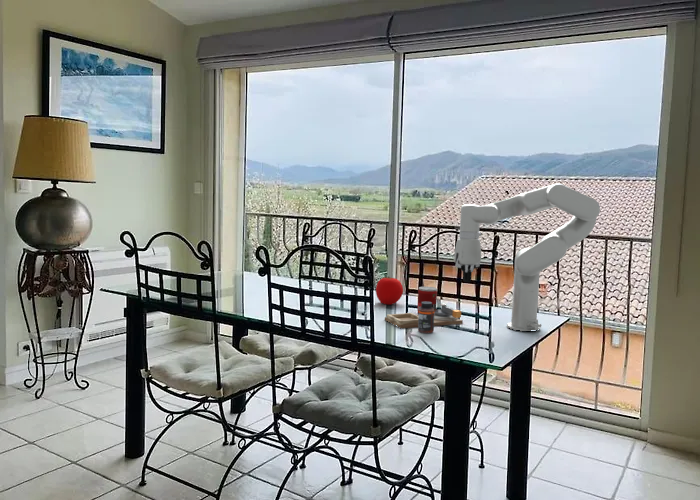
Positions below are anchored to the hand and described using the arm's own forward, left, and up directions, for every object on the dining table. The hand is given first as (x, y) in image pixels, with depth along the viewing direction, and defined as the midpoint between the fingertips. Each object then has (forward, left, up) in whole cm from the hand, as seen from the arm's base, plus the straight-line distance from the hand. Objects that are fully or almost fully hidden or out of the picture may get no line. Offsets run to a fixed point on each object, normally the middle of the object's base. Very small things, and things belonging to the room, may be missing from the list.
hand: (466, 281), depth 253 cm
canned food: (+20, +6, -17) cm, 27 cm away
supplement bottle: (-7, +22, -17) cm, 29 cm away
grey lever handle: (+3, +6, -15) cm, 16 cm away
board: (+7, +15, -17) cm, 24 cm away
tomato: (+42, +13, -17) cm, 47 cm away
